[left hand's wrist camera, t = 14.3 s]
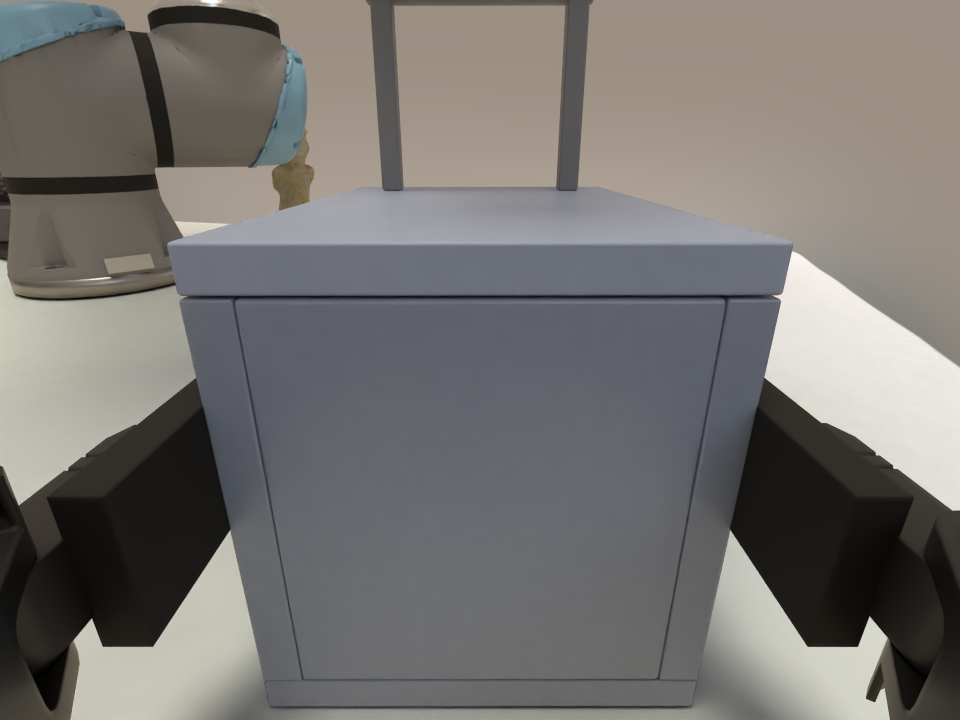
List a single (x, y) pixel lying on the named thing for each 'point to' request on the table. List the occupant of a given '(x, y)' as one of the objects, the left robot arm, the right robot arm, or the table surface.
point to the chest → (480, 488)
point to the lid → (479, 224)
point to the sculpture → (294, 179)
